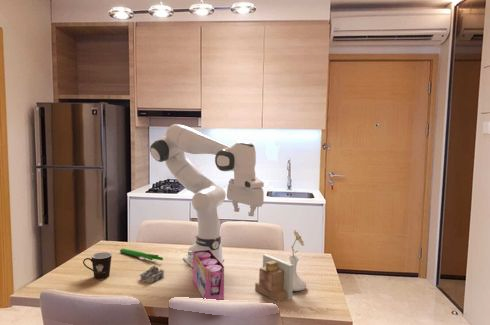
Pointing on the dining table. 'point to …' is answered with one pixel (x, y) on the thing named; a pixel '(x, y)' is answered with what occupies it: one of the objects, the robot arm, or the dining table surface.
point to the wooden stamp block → (271, 277)
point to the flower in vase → (297, 281)
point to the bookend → (287, 279)
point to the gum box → (208, 275)
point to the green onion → (140, 254)
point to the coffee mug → (100, 264)
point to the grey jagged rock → (149, 277)
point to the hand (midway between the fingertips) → (243, 213)
